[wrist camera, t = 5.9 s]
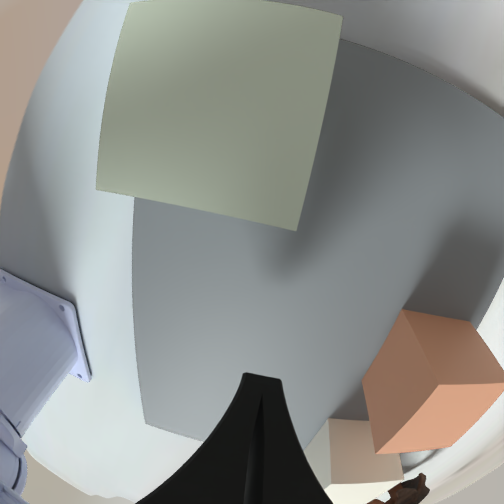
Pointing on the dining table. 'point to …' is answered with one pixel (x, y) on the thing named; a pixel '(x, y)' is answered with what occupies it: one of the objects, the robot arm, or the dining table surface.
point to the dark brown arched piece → (407, 492)
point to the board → (325, 255)
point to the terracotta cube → (429, 383)
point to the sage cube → (218, 105)
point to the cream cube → (351, 462)
